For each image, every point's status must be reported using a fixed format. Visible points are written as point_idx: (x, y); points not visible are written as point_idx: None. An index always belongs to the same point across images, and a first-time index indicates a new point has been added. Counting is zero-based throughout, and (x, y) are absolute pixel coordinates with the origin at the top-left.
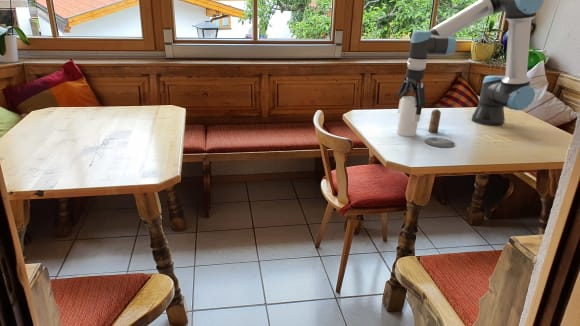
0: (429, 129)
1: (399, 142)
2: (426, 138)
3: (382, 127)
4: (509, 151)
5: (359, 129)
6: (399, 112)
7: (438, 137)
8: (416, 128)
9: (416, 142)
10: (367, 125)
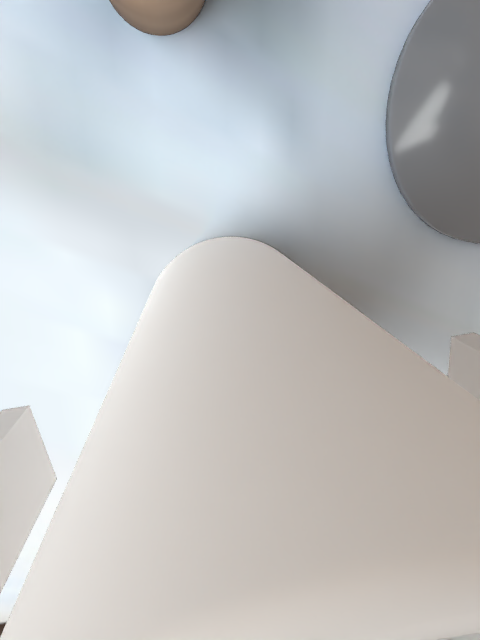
0: (164, 22)
1: None
2: (416, 201)
3: (69, 460)
4: None
5: None
6: (47, 478)
7: (410, 42)
8: (297, 265)
9: (450, 312)
10: (33, 548)
